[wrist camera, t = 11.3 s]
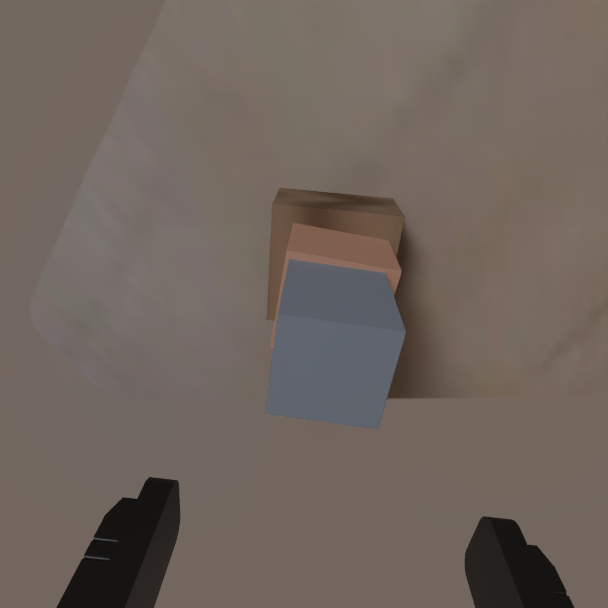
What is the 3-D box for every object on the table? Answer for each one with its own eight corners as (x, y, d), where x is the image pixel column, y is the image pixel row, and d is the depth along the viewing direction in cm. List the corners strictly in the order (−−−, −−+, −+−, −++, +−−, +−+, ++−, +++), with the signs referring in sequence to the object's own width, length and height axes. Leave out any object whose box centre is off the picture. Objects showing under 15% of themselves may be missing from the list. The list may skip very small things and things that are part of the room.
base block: (392, 198, 30) (404, 216, 25) (374, 298, 33) (382, 330, 29) (280, 187, 30) (272, 204, 25) (274, 289, 33) (266, 319, 29)
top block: (388, 240, 26) (402, 271, 21) (365, 323, 28) (372, 366, 24) (293, 222, 26) (286, 249, 21) (278, 307, 28) (269, 347, 24)
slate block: (385, 272, 21) (406, 332, 16) (365, 353, 24) (377, 429, 18) (289, 258, 21) (277, 313, 16) (278, 341, 24) (265, 413, 18)
